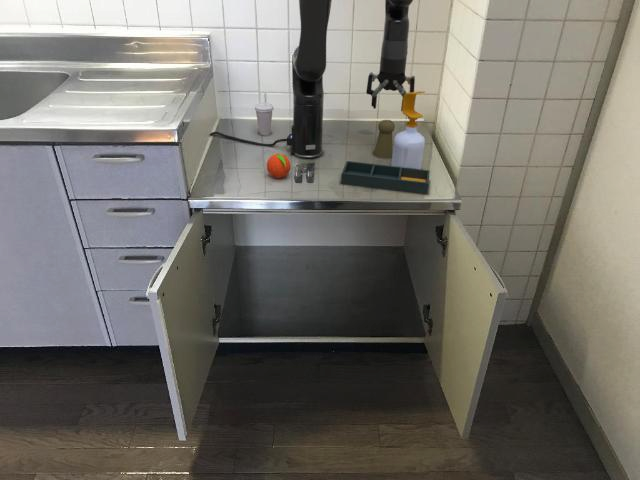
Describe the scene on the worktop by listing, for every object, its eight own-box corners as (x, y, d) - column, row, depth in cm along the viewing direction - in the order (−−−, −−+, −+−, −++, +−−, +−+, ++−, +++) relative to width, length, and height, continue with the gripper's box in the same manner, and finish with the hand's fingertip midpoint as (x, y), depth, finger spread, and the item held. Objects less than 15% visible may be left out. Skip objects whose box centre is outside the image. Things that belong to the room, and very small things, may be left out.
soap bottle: (402, 179, 149) (413, 97, 135) (385, 167, 155) (393, 87, 141) (426, 173, 152) (439, 93, 138) (408, 161, 159) (419, 84, 145)
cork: (391, 158, 160) (395, 125, 154) (373, 156, 161) (376, 123, 155) (393, 151, 165) (397, 118, 159) (375, 149, 166) (378, 117, 160)
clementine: (296, 180, 146) (296, 157, 142) (275, 185, 143) (275, 162, 139) (283, 169, 152) (283, 147, 148) (262, 174, 148) (262, 152, 144)
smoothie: (273, 137, 172) (272, 96, 164) (254, 136, 172) (252, 96, 164) (274, 130, 177) (274, 90, 170) (256, 129, 177) (255, 90, 169)
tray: (341, 183, 145) (341, 173, 143) (345, 170, 152) (346, 160, 150) (427, 194, 141) (428, 183, 139) (427, 180, 148) (429, 170, 146)
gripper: (367, 56, 144) (364, 111, 153) (417, 60, 142) (411, 115, 151) (371, 50, 150) (367, 103, 159) (419, 53, 148) (412, 107, 157)
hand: (388, 109), depth 155 cm, fingers open, 8 cm apart
